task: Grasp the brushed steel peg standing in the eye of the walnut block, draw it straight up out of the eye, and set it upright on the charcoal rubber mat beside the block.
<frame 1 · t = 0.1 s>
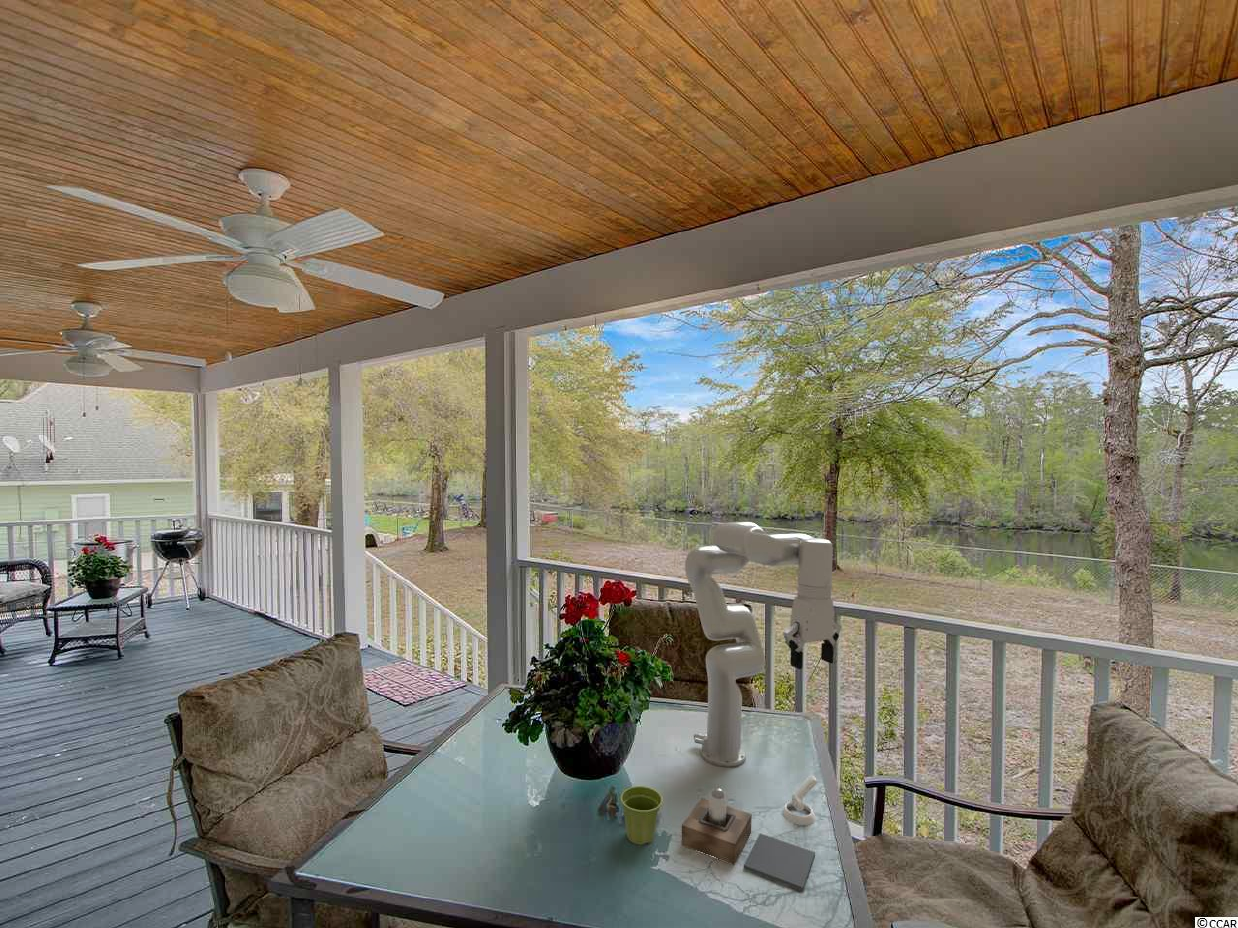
hand: (811, 664, 137), 37 cm above the table, tool pointing down, fingers open, 9 cm apart
hook: (798, 816, 141), on the table
plant pot: (640, 837, 131), on the table
mat: (779, 862, 124), on the table
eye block: (716, 839, 131), on the table
steel peg: (717, 813, 131), in the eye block
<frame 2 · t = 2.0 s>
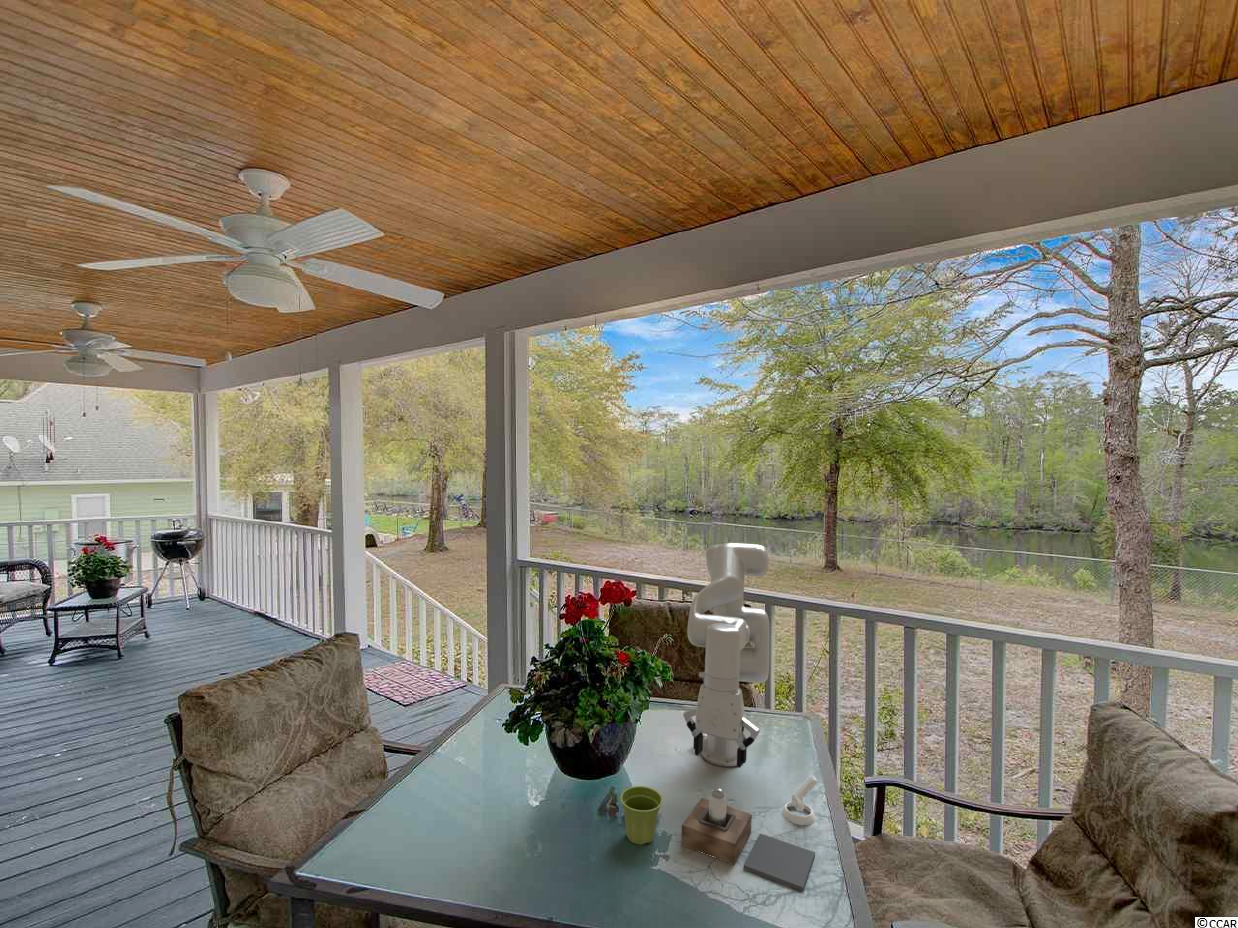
hand: (719, 758, 130), 18 cm above the table, tool pointing down, fingers open, 9 cm apart
nothing on the table moved.
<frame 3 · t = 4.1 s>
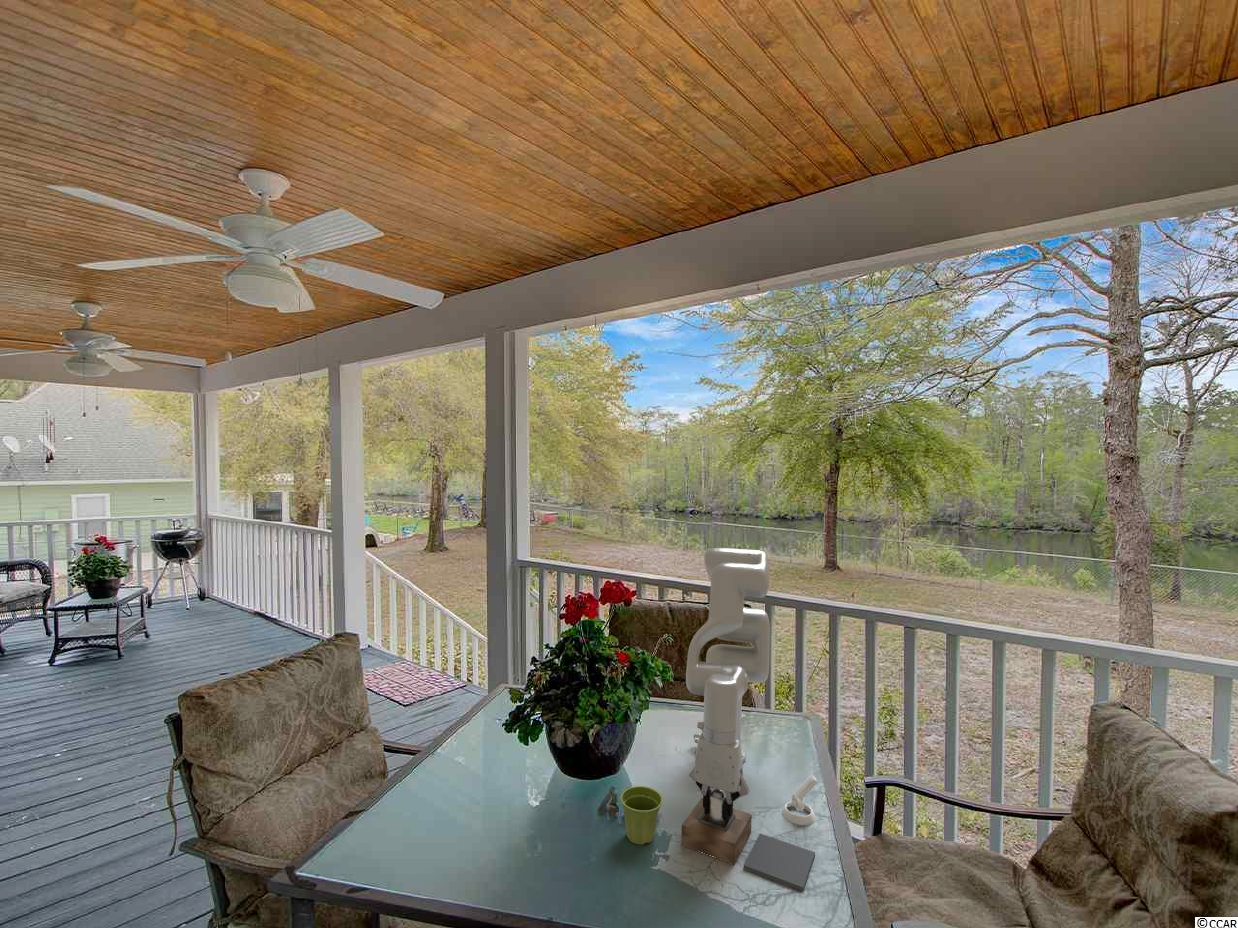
hand: (717, 813, 130), 6 cm above the table, tool pointing down, fingers closed on steel peg, 3 cm apart
steel peg: (717, 813, 130), in the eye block, touching gripper
everything else where it was.
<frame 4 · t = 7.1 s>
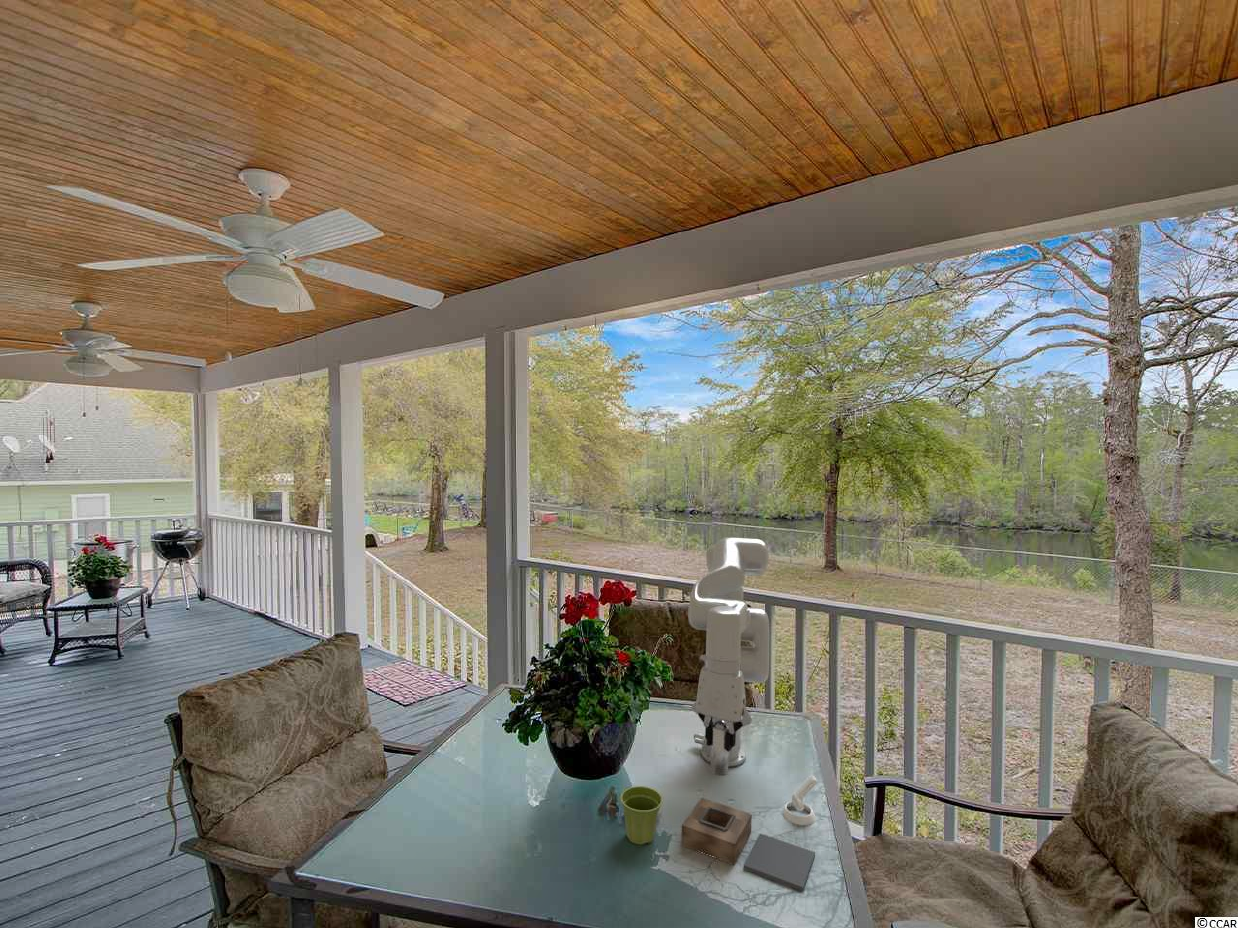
hand: (720, 745, 130), 21 cm above the table, tool pointing down, fingers closed on steel peg, 3 cm apart
steel peg: (720, 745, 130), point 21 cm above the table, touching gripper
everything else where it was.
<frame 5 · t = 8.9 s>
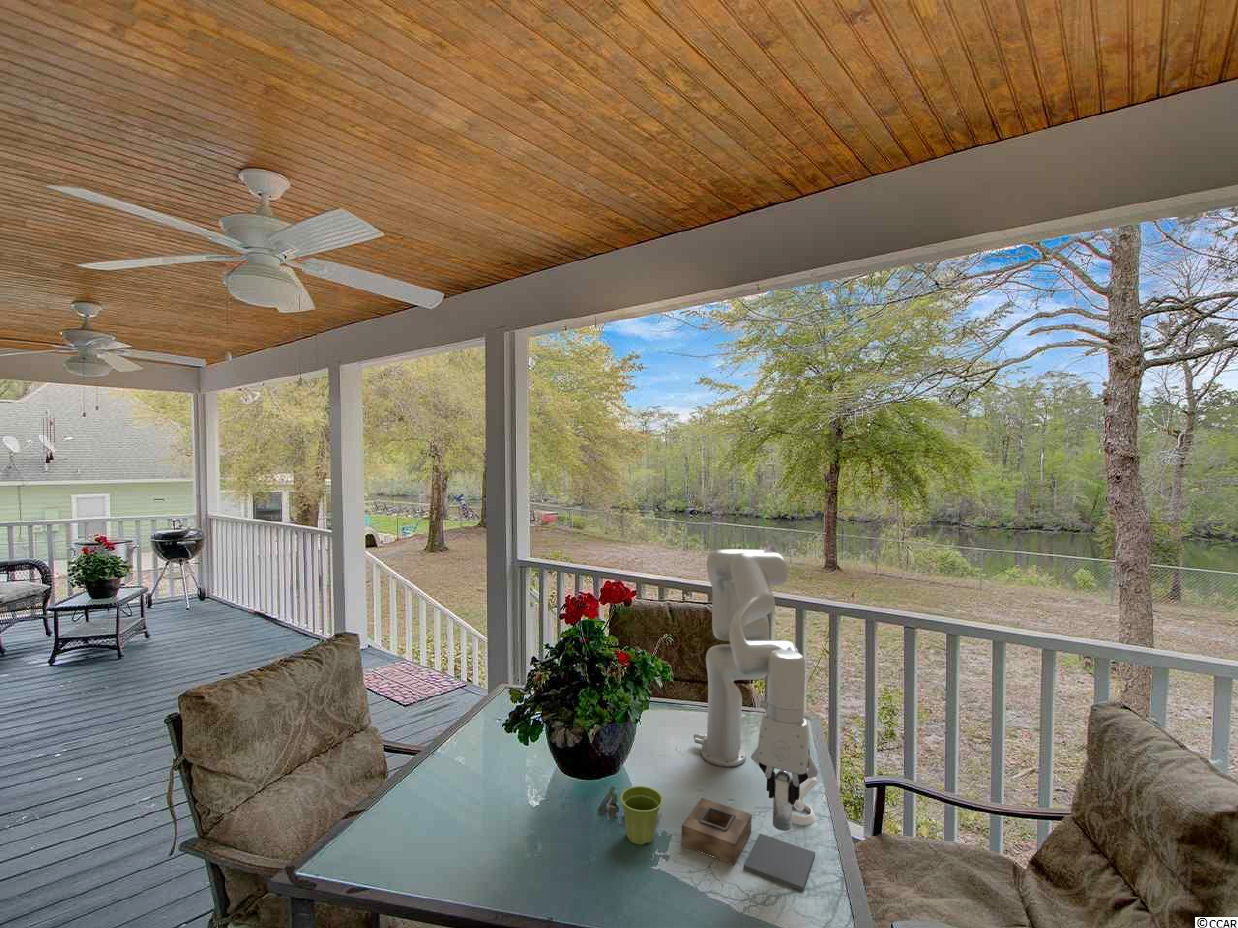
hand: (782, 797, 123), 14 cm above the table, tool pointing down, fingers closed on steel peg, 3 cm apart
steel peg: (782, 797, 123), point 14 cm above the table, touching gripper
everything else where it was.
when the fingers open (8 cm above the table, at t = 10.1 s): steel peg drops 1 cm, resting on mat.
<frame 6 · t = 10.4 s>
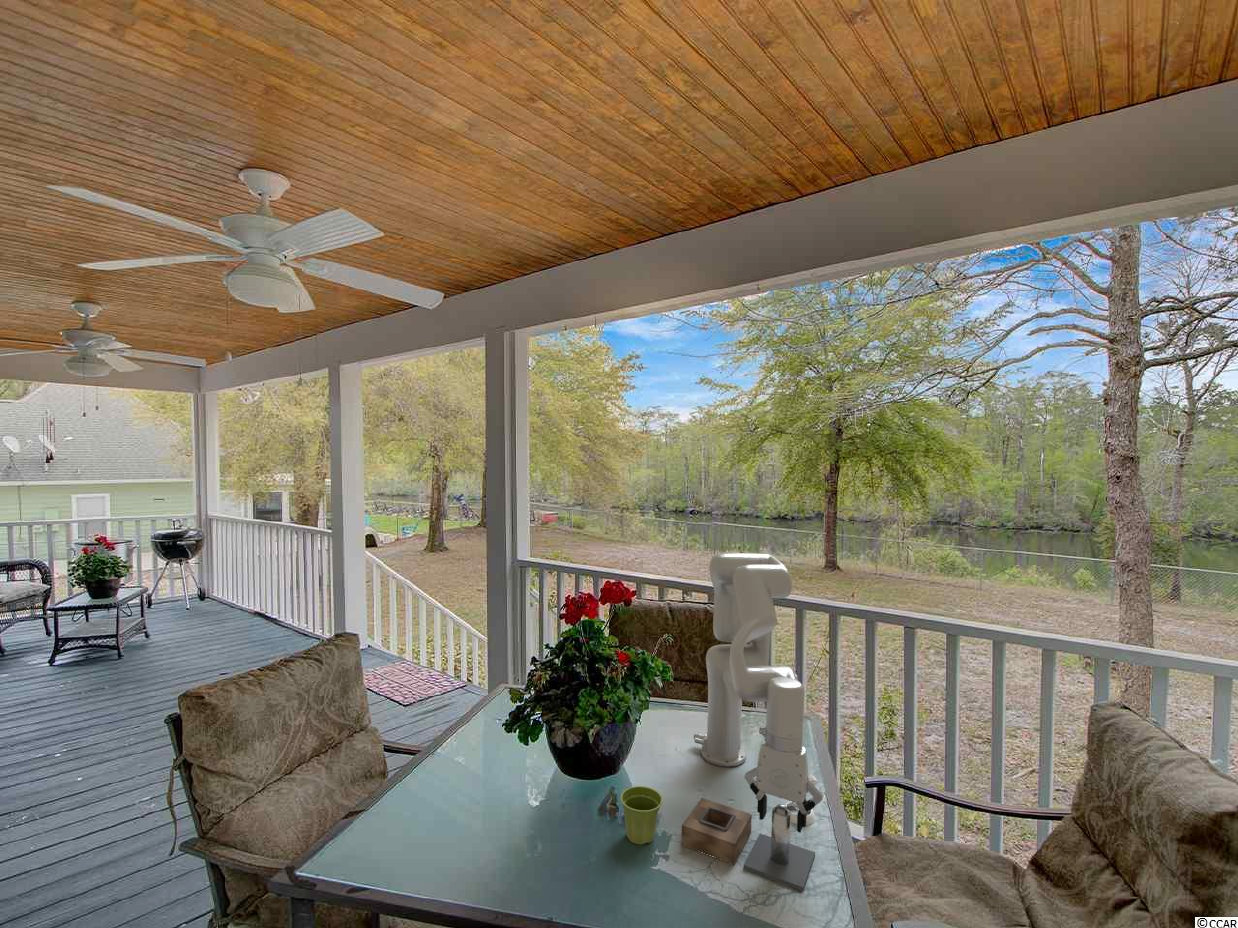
hand: (781, 821, 124), 9 cm above the table, tool pointing down, fingers open, 7 cm apart
steel peg: (780, 831, 124), on the mat, point 6 cm above the table
everything else where it was.
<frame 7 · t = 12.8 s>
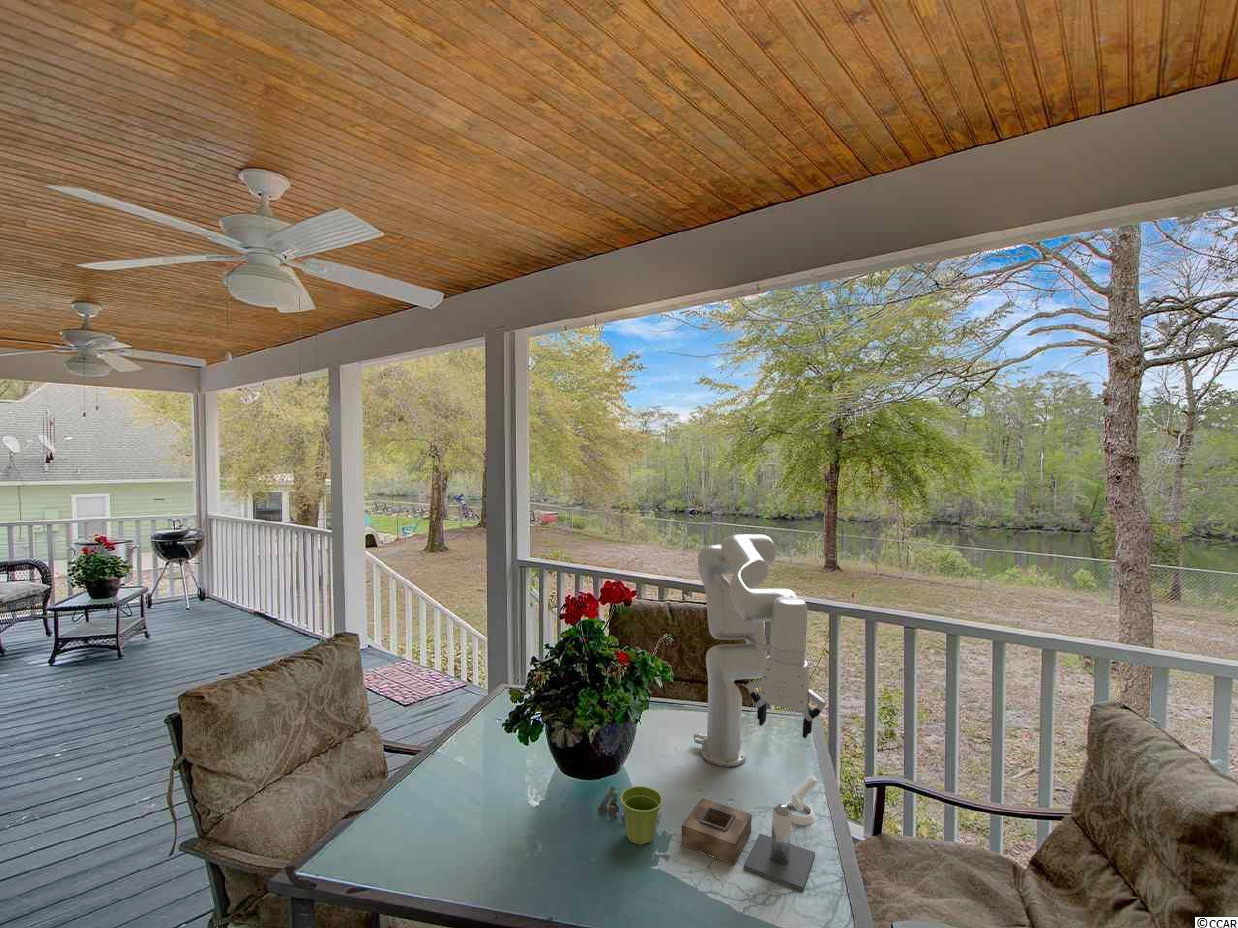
hand: (783, 729, 131), 25 cm above the table, tool pointing down, fingers open, 9 cm apart
nothing on the table moved.
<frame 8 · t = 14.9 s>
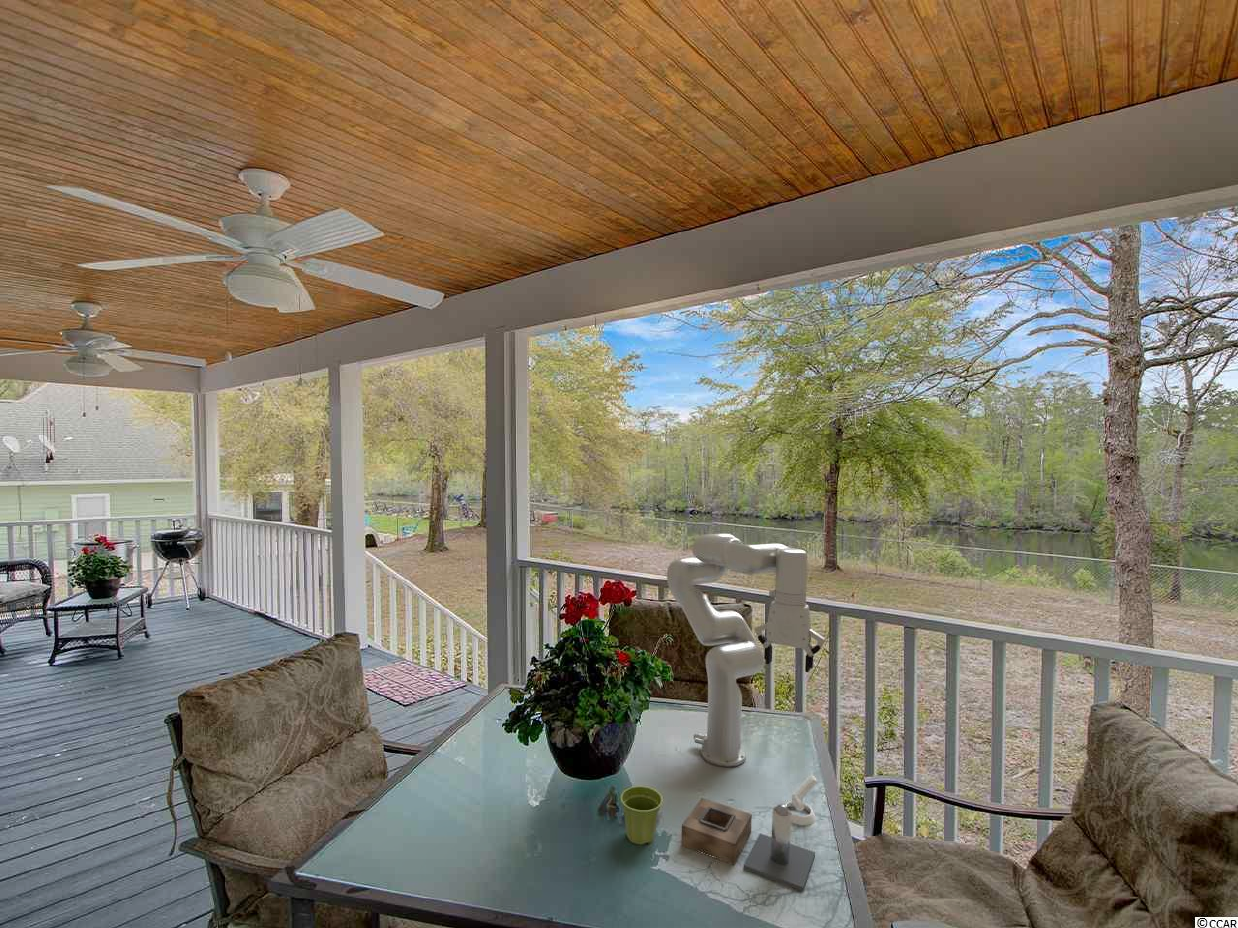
hand: (788, 666, 147), 33 cm above the table, tool pointing down, fingers open, 9 cm apart
nothing on the table moved.
at the end: steel peg inside the target area on the mat (0.1 cm from its centre), point 6.5 cm above the mat's base; steel peg tilted 2°; the gripper is holding nothing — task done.
